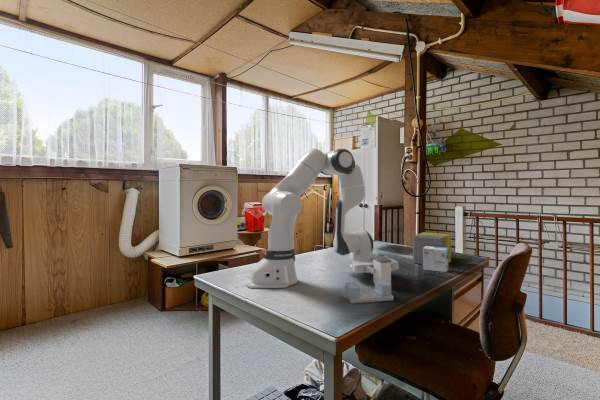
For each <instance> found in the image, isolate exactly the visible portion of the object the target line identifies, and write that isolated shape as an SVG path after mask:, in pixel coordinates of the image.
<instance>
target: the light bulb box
mask: <svg viewBox="0 0 600 400" xmlns="http://www.w3.org/2000/svg"><path fill="white" fill-rule="evenodd" d="M422 269H423V271H424V270H425V271H426V270H427V271H433V272H434V271H435V272H440V273H447V272H448V270H449V263H448V248H443V247H430V246H425V247H424V248H423V265H422Z"/></svg>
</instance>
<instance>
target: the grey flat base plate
mask: <svg viewBox="0 0 600 400" xmlns="http://www.w3.org/2000/svg"><path fill="white" fill-rule="evenodd" d="M342 296H343V297H344V298H345V300H347V302H348V303H350V304H351V305H352V304H364V303H374V302H375V303H377V302H387V301H394V295H393V294H391V295H383V296H382V295H381V294H379V293H378V292H377V291H375V288H370V289H360V297H359V298H350V297H349V296H348V295H347V294H346V293H345V290H344V291H343V292H342Z"/></svg>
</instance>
